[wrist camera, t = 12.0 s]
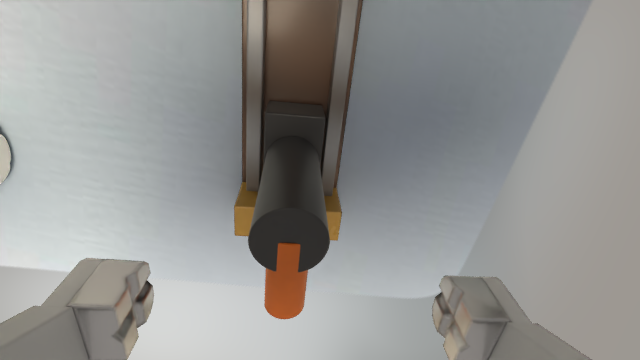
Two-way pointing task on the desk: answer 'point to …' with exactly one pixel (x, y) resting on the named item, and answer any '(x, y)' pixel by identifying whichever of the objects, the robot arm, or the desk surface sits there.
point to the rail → (297, 72)
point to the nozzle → (290, 205)
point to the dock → (247, 205)
